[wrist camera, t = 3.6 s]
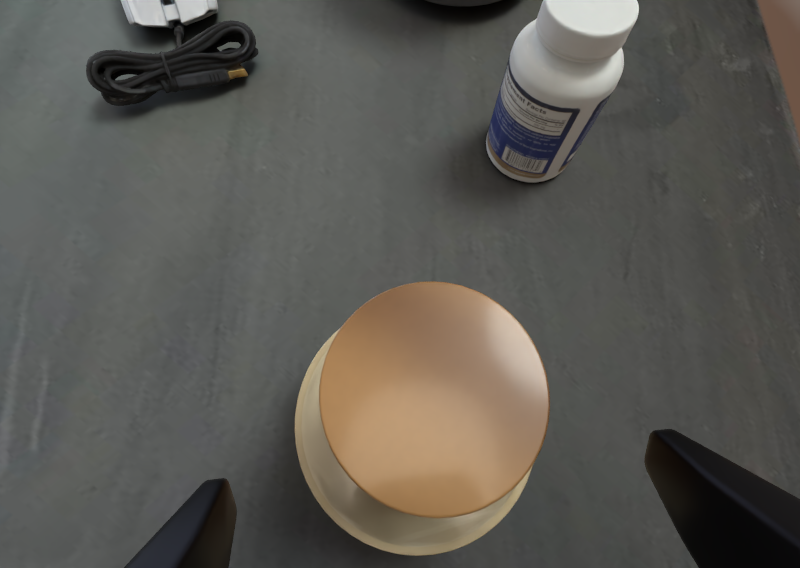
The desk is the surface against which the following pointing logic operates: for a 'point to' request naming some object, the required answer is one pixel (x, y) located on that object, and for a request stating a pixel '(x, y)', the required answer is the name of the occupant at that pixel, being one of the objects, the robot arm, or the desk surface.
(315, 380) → the cream ceramic pot
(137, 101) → the computer mouse
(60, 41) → the desk surface
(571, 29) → the pill bottle
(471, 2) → the planter
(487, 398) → the flanged wooden cylinder
